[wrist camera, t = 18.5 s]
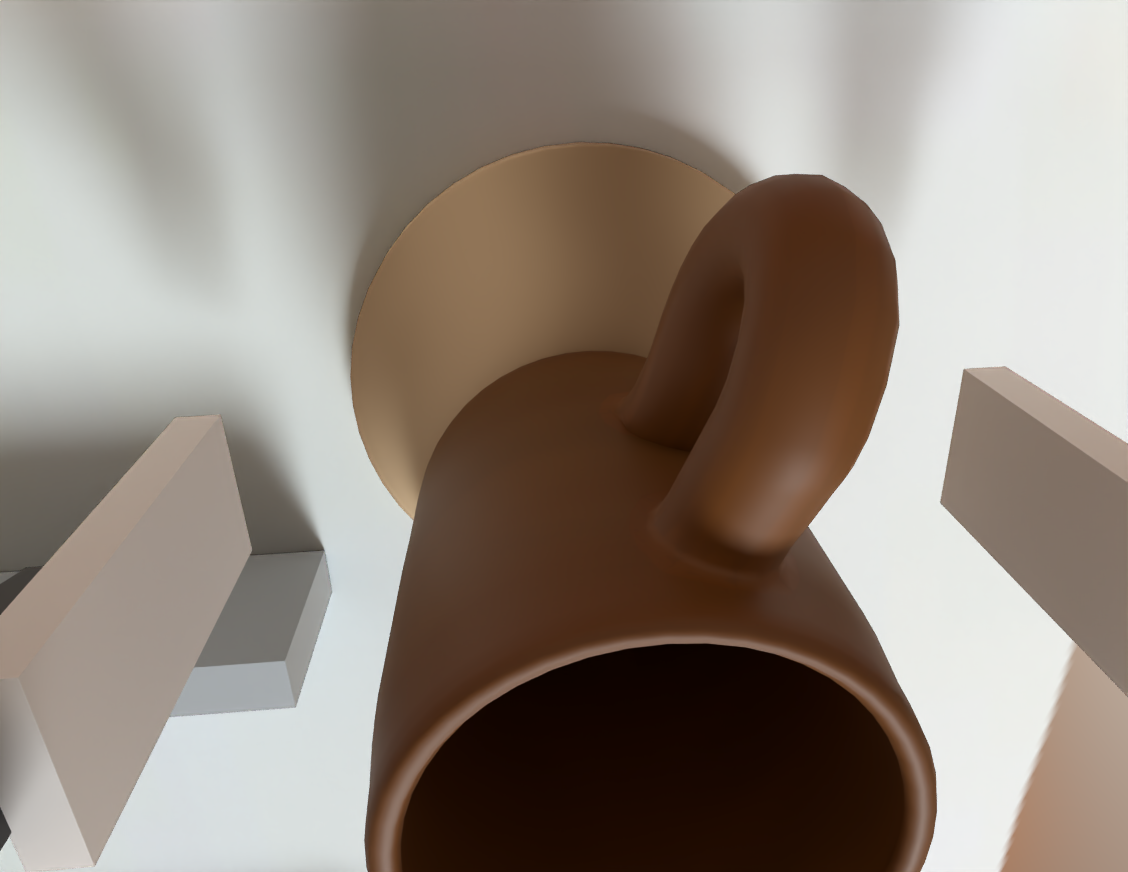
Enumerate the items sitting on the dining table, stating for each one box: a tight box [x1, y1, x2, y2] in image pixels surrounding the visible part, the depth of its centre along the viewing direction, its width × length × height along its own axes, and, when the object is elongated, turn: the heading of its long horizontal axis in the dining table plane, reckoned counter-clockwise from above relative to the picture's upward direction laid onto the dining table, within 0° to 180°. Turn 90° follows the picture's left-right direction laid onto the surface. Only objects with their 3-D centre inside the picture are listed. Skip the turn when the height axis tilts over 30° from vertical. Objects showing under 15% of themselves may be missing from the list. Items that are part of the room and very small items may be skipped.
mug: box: [364, 174, 937, 872], centre depth 14 cm, size 12×8×9 cm, turn 166°
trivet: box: [350, 142, 735, 520], centre depth 18 cm, size 10×10×1 cm
